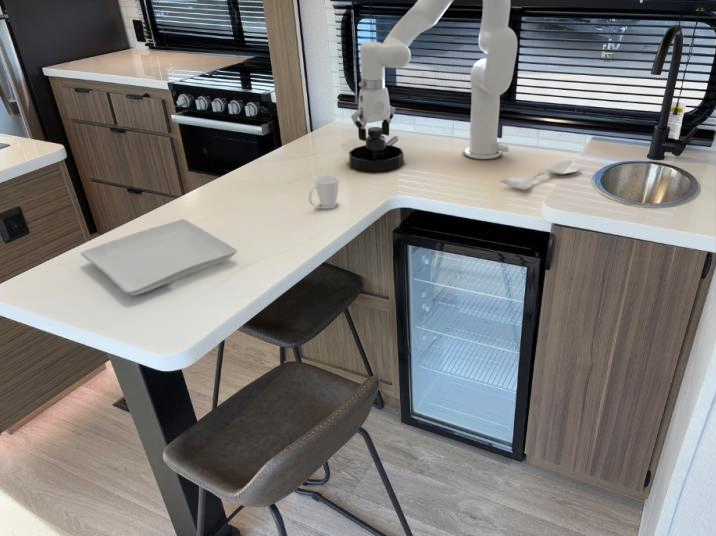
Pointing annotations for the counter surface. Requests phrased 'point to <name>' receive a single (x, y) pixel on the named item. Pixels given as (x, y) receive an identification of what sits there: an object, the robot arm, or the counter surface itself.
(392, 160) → the pan
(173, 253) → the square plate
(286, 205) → the counter surface
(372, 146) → the supplement bottle
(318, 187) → the cup
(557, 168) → the spoon
